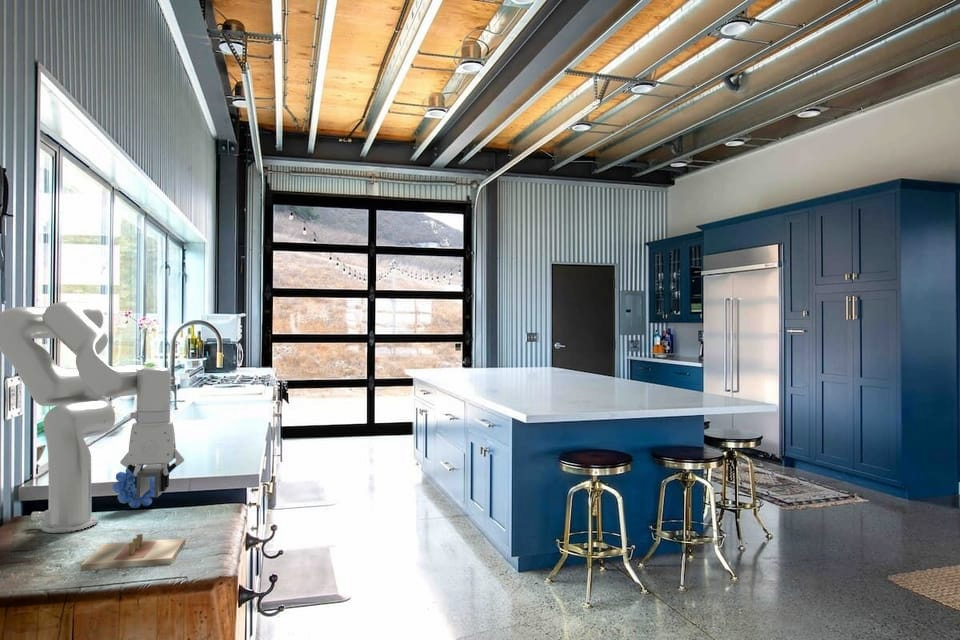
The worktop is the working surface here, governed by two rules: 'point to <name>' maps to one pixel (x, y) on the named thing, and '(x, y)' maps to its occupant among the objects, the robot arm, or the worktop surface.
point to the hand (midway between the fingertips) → (152, 489)
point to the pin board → (134, 553)
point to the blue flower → (132, 490)
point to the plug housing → (144, 480)
